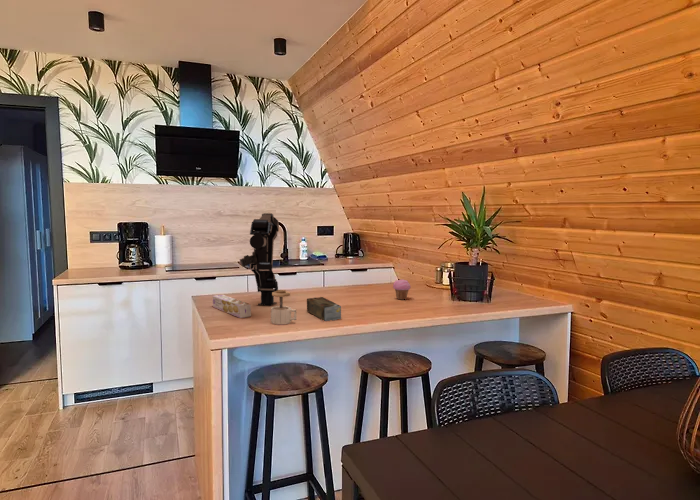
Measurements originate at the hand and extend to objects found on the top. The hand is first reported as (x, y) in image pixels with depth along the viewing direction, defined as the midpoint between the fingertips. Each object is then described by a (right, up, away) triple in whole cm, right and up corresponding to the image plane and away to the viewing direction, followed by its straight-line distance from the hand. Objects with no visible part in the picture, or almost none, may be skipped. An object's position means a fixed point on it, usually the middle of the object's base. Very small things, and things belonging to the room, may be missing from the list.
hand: (260, 286), depth 190 cm
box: (-14, -12, +6) cm, 19 cm away
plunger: (+10, -7, -11) cm, 17 cm away
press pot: (+11, -13, -11) cm, 20 cm away
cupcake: (+63, -10, +40) cm, 76 cm away
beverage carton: (+26, -13, +2) cm, 29 cm away
